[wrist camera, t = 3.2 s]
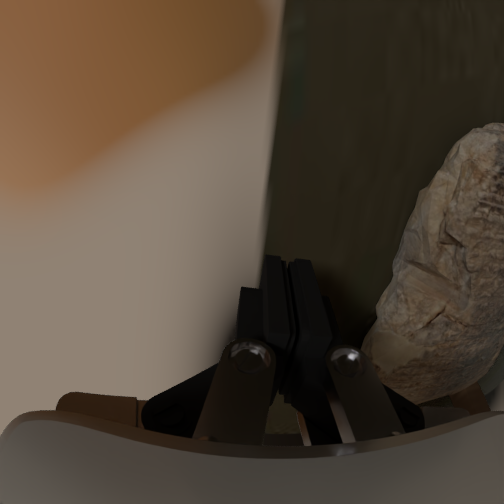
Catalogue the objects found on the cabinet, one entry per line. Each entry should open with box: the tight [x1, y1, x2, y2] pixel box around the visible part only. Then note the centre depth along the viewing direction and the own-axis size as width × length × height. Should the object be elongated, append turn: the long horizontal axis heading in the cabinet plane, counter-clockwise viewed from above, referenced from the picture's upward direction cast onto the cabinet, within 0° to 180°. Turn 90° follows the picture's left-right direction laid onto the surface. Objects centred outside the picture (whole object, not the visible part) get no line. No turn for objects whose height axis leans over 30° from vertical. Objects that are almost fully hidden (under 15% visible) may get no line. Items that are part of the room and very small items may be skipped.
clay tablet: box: [361, 123, 504, 405], centre depth 11 cm, size 14×5×20 cm
